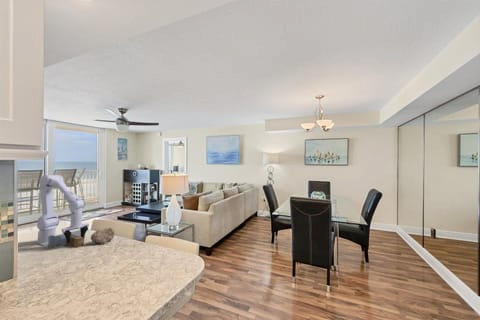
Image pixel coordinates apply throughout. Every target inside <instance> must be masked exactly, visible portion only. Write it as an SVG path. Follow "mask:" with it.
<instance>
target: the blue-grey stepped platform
mask: <svg viewBox="0 0 480 320" xmlns="http://www.w3.org/2000/svg"><path fill="white" fill-rule="evenodd" d="M71 232H72V233H71V235H76V236H81V232H80V229H78V230H75V231H74V230H73V231H71ZM85 238H86V235H85V236H84V239H85ZM67 245H68V244H67V240H66V237H65V235H64V234H63V233H61V234H58V235H55V236H54V235H51V236H49V238H48V244H47V247H48V248H49V249H50V248H54V247H57V246H62V247H64V246H67Z"/></svg>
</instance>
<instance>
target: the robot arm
mask: <svg viewBox="0 0 480 320" xmlns="http://www.w3.org/2000/svg"><path fill="white" fill-rule="evenodd" d="M39 187H40V199H41V212H42V213H41V216H39V217H38V218H37V223H36V228H37V229H38V230H39V231H38V232H37V241H36V242H35V243H36V244H38V245H40V246H44V245H45V246H46V245H48V238H49V236H51V235H54V236H56V229H57V227H58V225H59V224H60V219H59V216H58V214H57V213H55V212H54V199H53V189H54V188H55V187H56V188H57V189H58V190H59V191H60V192H61V193H62V194H63V196H62V197H63V199H64V200H65V201H66V203H68V204H69V205H68V209H69V212H70V223H69V224H70V225H69V226H67V227H64V228H61V233H62V234H64V235H65V237H66V240H67V243H70V237H71V233H72V232H73V231H74V230H75V231H76V230H77V229H78V230H80V232H81V236H80V237H84V236H85V237H86V233H87V231H88V230H89V227H90V223H88V222H87V223H83V209H84V208H85V206H86V202H85V200H84V199H82V198H79V197H78V195H77V194H76V193H75V191H74V190H73V191H72V190H70V189H69V188H68V186H67V185H66V183H65V182H64V177H63V176H62V175H61V174H44V175H42V176H41V177H40V178H39Z"/></svg>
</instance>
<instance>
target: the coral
mask: <svg viewBox="0 0 480 320" xmlns="http://www.w3.org/2000/svg"><path fill="white" fill-rule="evenodd" d="M114 236H115V229H113V228H112V227H108V228H103V229H100V230H96V231H94V232H93V234H91V236H90V239H91V242H92V243H94V242H95V243H97V242H98V243H100V244H103V245H105V244H106V243H107V242H111V241H112V240H113V239H114Z"/></svg>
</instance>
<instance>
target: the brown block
mask: <svg viewBox="0 0 480 320" xmlns="http://www.w3.org/2000/svg"><path fill="white" fill-rule="evenodd" d="M66 245H69V246H72V247H74V248H75V247H76V248H81V247H84V246H85V238H84V237H80V236H76V235H71V237H70V243H67V244H66Z"/></svg>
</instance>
